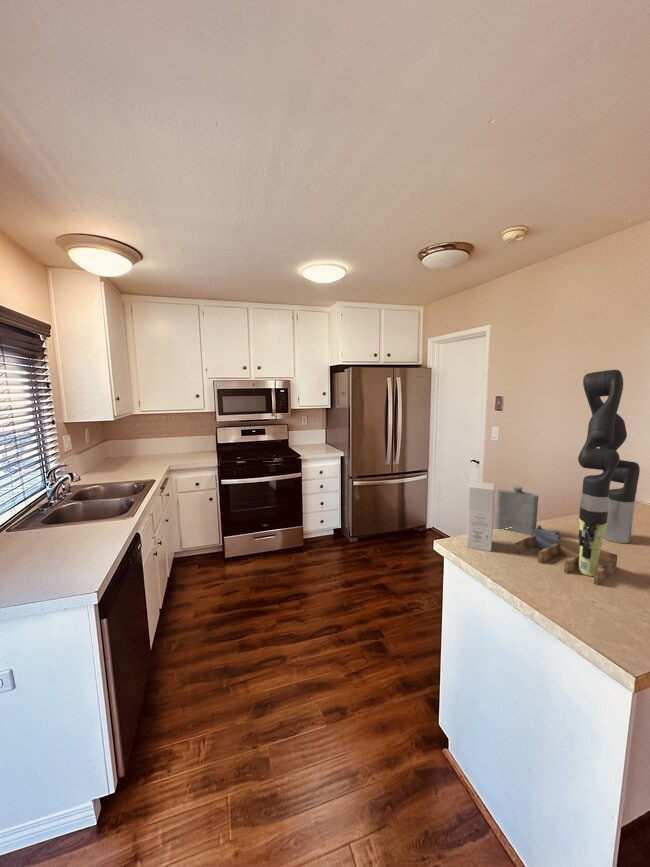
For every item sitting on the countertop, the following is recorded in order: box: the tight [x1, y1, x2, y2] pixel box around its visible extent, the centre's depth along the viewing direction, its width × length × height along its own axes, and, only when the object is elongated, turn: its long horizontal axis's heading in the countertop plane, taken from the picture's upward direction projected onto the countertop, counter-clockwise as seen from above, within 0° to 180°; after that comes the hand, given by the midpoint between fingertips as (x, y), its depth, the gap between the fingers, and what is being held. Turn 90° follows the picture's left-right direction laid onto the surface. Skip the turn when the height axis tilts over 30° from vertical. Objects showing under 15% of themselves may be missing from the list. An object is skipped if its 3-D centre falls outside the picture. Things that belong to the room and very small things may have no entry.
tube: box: [578, 517, 607, 577], centre depth 119 cm, size 6×5×20 cm
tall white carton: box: [466, 481, 496, 552], centre depth 141 cm, size 9×9×25 cm
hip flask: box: [494, 485, 539, 536], centre depth 155 cm, size 16×4×20 cm, turn 56°
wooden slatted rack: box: [514, 524, 618, 586], centre depth 128 cm, size 15×27×8 cm, turn 33°
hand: (589, 555), depth 120 cm, fingers closed on tube, 4 cm apart
